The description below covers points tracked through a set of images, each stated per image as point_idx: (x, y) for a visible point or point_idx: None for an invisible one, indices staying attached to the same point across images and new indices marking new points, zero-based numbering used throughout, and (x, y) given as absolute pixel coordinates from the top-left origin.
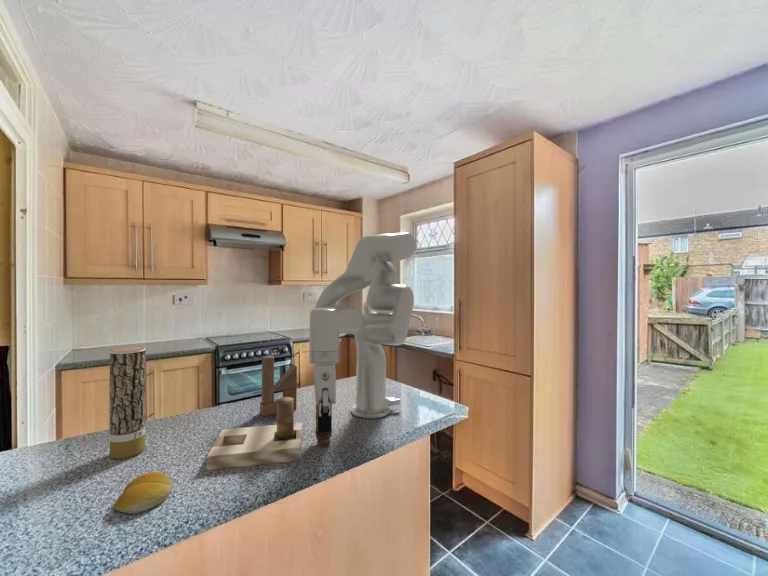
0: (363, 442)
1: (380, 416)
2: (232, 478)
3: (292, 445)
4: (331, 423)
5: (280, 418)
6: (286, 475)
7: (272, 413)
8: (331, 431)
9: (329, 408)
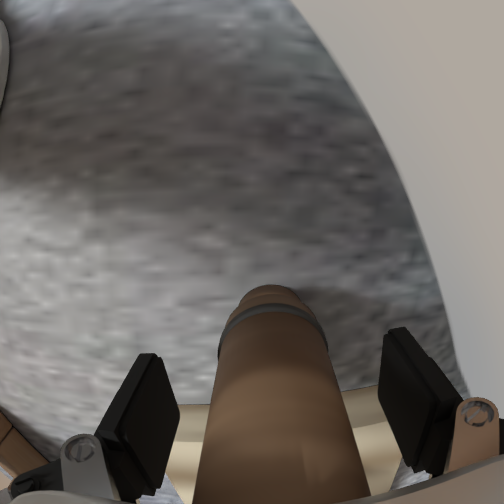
0: (276, 90)
1: (6, 36)
2: (415, 480)
3: (388, 442)
4: (288, 337)
5: None
6: (461, 392)
7: (43, 460)
8: (293, 309)
9: (493, 455)
